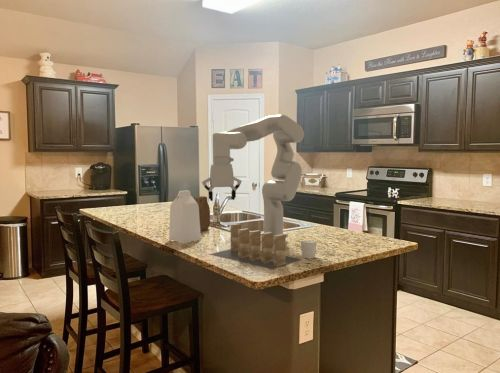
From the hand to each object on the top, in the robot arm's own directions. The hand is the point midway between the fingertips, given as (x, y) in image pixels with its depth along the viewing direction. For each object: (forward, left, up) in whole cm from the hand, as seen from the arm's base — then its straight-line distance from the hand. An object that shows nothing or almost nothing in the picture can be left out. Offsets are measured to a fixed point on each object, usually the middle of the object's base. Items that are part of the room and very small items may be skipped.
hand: (222, 200), depth 180 cm
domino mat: (-6, +14, -25) cm, 29 cm away
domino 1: (-3, +10, -24) cm, 26 cm away
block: (-35, -54, -25) cm, 69 cm away
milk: (-10, -38, -25) cm, 47 cm away
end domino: (-10, -1, -24) cm, 26 cm away
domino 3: (-3, +23, -24) cm, 34 cm away
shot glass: (-22, +31, -25) cm, 45 cm away
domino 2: (-3, +17, -24) cm, 29 cm away
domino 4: (-3, +30, -24) cm, 38 cm away
